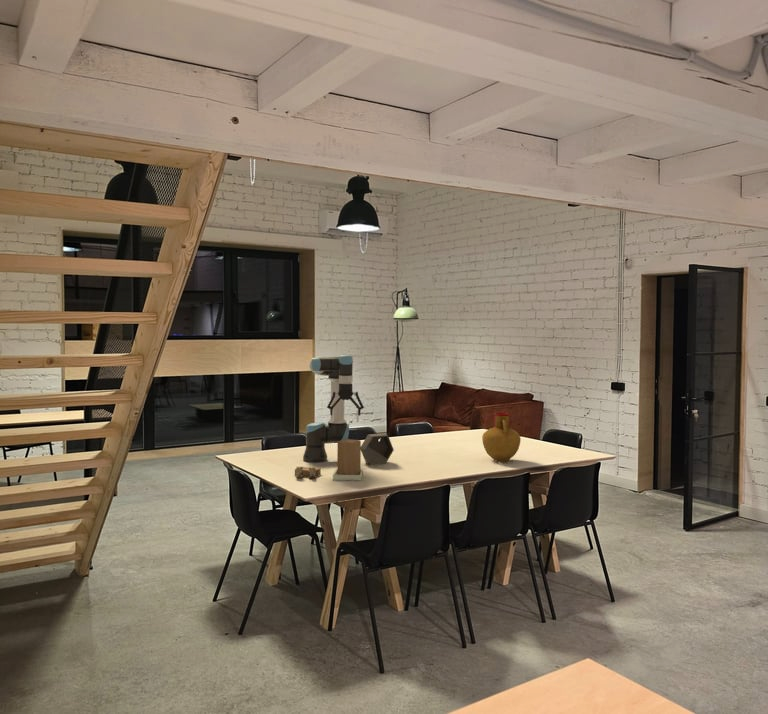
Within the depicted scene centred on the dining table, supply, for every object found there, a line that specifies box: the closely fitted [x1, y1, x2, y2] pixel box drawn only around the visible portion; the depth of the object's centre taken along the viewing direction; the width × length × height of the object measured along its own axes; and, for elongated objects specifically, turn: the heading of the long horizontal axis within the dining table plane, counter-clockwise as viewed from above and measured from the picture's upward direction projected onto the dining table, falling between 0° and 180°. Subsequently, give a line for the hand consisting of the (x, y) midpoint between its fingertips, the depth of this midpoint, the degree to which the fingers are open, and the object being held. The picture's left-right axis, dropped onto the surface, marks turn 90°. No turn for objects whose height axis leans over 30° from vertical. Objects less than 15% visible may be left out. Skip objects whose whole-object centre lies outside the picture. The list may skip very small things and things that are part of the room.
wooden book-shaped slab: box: [294, 466, 322, 478], centre depth 372 cm, size 8×12×4 cm, turn 69°
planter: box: [361, 433, 395, 466], centre depth 407 cm, size 17×8×21 cm
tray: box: [332, 468, 364, 482], centre depth 366 cm, size 15×15×3 cm
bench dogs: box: [295, 466, 317, 480], centre depth 364 cm, size 4×11×6 cm, turn 88°
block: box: [336, 438, 362, 475], centre depth 366 cm, size 10×10×20 cm
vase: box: [481, 412, 521, 463], centre depth 419 cm, size 24×24×30 cm
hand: (345, 421), depth 368 cm, fingers open, 13 cm apart
